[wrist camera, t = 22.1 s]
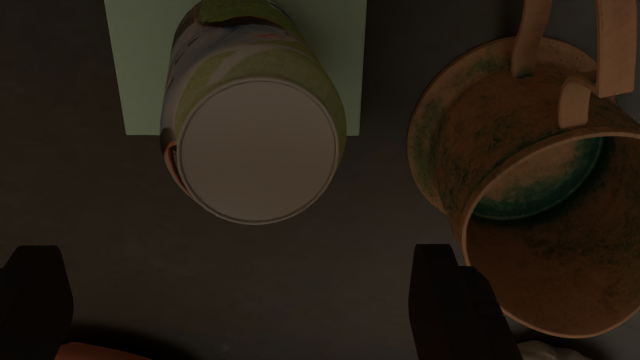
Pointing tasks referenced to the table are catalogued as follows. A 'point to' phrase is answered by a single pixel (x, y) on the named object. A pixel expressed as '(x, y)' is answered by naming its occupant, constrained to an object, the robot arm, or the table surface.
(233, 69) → the beverage can
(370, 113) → the table surface
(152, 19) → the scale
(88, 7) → the table surface
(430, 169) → the mug
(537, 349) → the vase
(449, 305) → the robot arm
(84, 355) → the teapot
